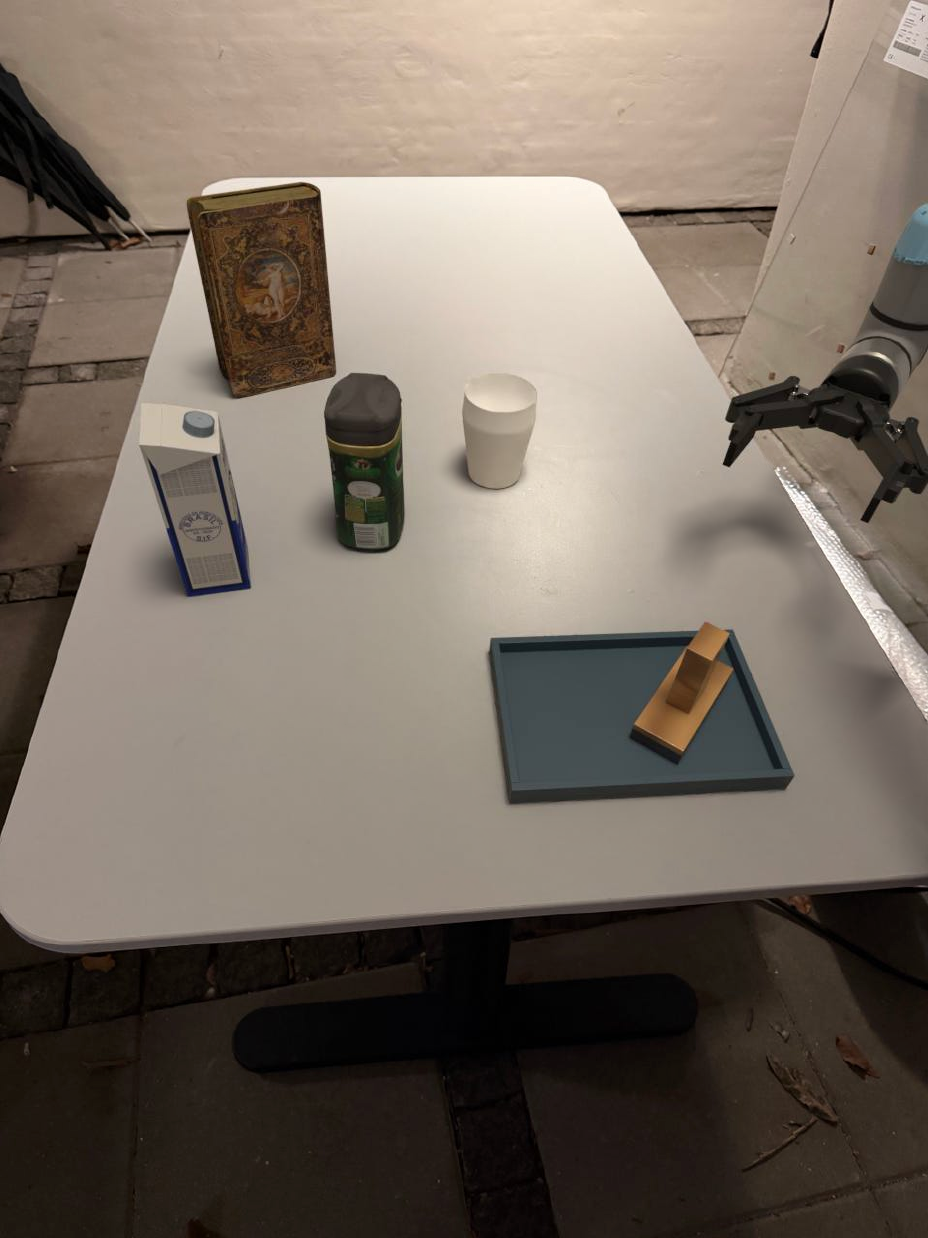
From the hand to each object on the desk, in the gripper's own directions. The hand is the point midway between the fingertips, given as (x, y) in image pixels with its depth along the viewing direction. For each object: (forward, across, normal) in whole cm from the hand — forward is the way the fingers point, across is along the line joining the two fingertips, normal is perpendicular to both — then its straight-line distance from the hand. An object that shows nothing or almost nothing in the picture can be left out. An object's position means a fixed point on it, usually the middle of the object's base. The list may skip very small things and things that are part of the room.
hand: (797, 481), depth 73 cm
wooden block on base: (+17, 0, -17) cm, 24 cm away
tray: (+20, +4, -18) cm, 27 cm away
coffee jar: (+14, +41, -18) cm, 47 cm away
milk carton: (+31, +50, -18) cm, 61 cm away
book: (-3, +73, -18) cm, 75 cm away
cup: (-4, +35, -18) cm, 40 cm away
